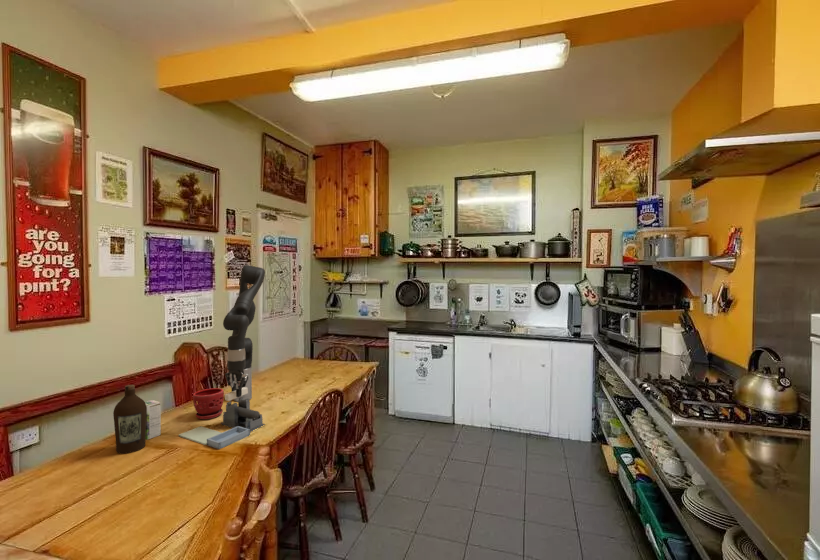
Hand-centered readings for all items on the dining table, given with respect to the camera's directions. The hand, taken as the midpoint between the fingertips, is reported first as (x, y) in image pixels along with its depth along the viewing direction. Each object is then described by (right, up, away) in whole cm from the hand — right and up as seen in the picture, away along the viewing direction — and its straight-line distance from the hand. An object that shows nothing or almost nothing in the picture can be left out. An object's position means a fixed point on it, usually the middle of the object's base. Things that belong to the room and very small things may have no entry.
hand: (236, 395), depth 175 cm
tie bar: (0, 0, 0) cm, 0 cm away
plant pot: (-18, -13, +10) cm, 24 cm away
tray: (+4, -13, -16) cm, 21 cm away
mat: (-9, -13, -12) cm, 20 cm away
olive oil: (-31, -14, -24) cm, 41 cm away
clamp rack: (+3, -13, -1) cm, 14 cm away
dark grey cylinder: (+3, -9, -1) cm, 9 cm away
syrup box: (-31, -14, -12) cm, 36 cm away
